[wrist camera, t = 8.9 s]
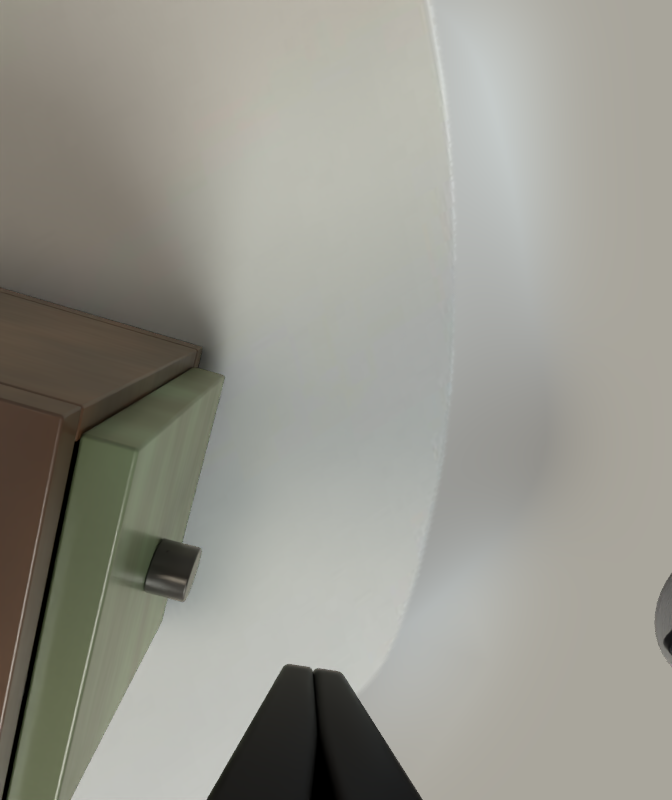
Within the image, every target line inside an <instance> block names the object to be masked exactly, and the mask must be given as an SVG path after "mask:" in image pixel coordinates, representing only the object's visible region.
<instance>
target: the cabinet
mask: <svg viewBox="0 0 672 800" xmlns="http://www.w3.org/2000/svg"><path fill="white" fill-rule="evenodd" d="M201 353H202V347H201V346H197V345H194V344H190V343H187V342H184V341H180V340H177V339H173V338H170V337H167V336H163V335H160V334H156V333H153V332H150V331H146V330H143V329H139V328H136V327H133V326H129V325H126V324H122V323H119V322H116V321H112V320H109V319H105V318H102V317H99V316H95V315H92V314H88V313H85V312H82V311H78V310H75V309H71V308H68V307H65V306H61V305H58V304H54V303H51V302H47V301H44V300H41V299H37V298H34V297H30V296H27V295H24V294H20V293H17V292H13V291H10V290H7V289H3V288H0V800H6V798H7V793H8V788H9V783H10V778H11V774H12V769H13V764H14V759H15V754H16V749H17V745H18V740H19V735H20V730H21V725H22V720H23V715H24V711H25V706H26V701H27V696H28V691H29V689H28V690H27V692H26V693H25V694H24V696H23V692H24V687H25V682H26V677H27V672H28V668H29V663H30V658H31V653H32V648H33V643H34V638H35V633H36V628H37V623H38V619H39V614H40V609H41V604H42V599H43V594H44V589H45V584H46V579H47V575H48V570H49V565H50V560H51V555H52V550H53V545H54V540H55V535H56V530H57V526H58V521H59V516H60V511H61V506H62V501H63V496H64V491H65V486H66V481H67V477H68V472H69V467H70V462H71V457H72V452H73V447H74V442H75V441H78V440H79V439H81V436H82V434H83V433H85V432H86V431H88V430H90V429H91V428H93V427H95V426H96V425H98V424H100V423H101V422H103V421H105V420H106V419H108V418H110V417H111V416H113V415H115V414H116V413H118V412H120V411H121V410H123V409H125V408H126V407H128V406H130V405H131V404H133V403H135V402H136V401H138V400H140V399H141V398H143V397H145V396H146V395H148V394H150V393H151V392H153V391H155V390H156V389H158V388H160V387H161V386H163V385H165V384H166V383H168V382H170V381H171V380H173V379H175V378H176V377H178V376H180V375H181V374H183V373H185V372H186V371H188V370H190V369H191V368H193V367H197V368H198V365H199V361H200V357H201Z"/></svg>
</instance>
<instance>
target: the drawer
mask: <svg viewBox="0 0 672 800" xmlns="http://www.w3.org/2000/svg"><path fill="white" fill-rule="evenodd" d="M224 379H225V377H224V376H223V375H221V374H217V373H214V372H210V371H207V370H203V369H200V368H197V367H193V368H191V369H190V370H188V371H186V372H185V373H183V374H181V375H180V376H178V377H176V378H175V379H173V380H171V381H170V382H168V383H166V384H165V385H163V386H161V387H160V388H158V389H156V390H155V391H153V392H151V393H150V394H148V395H146V396H145V397H143V398H141V399H140V400H138V401H136V402H135V403H133V404H131V405H130V406H128V407H126V408H125V409H123V410H121V411H120V412H118V413H116V414H115V415H113V416H111V417H110V418H108V419H106V420H105V421H103V422H101V423H100V424H98V425H96V426H95V427H93V428H91V429H90V430H88V431H86V432H85V433H83V434H82V436H81V439H79V440H78V441H75V442H74V447H73V452H72V457H71V462H70V467H69V472H68V477H67V481H66V486H65V491H64V496H63V501H62V506H61V511H60V516H59V521H58V526H57V530H56V535H55V540H54V545H53V550H52V555H51V560H50V565H49V570H48V575H47V579H46V584H45V589H44V594H43V599H42V604H41V609H40V614H39V619H38V623H37V628H36V633H35V638H34V643H33V648H32V653H31V658H30V663H29V668H28V672H27V677H26V682H25V687H24V692H23V696H24V694H25V693H26V692H27V690H28V689H29V691H28V696H27V701H26V706H25V711H24V715H23V720H22V725H21V730H20V735H19V740H18V745H17V749H16V754H15V759H14V764H13V769H12V774H11V778H10V783H9V788H8V793H7V798H6V800H71V798H72V796H73V794H74V792H75V790H76V788H77V786H78V784H79V782H80V780H81V778H82V776H83V774H84V772H85V770H86V768H87V766H88V764H89V763H90V761H91V759H92V757H93V755H94V753H95V751H96V749H97V747H98V745H99V743H100V741H101V739H102V737H103V735H104V733H105V731H106V729H107V727H108V726H109V724H110V722H111V720H112V718H113V716H114V714H115V712H116V710H117V708H118V706H119V704H120V702H121V700H122V698H123V696H124V694H125V692H126V690H127V688H128V687H129V685H130V683H131V681H132V679H133V677H134V675H135V673H136V671H137V669H138V667H139V665H140V663H141V661H142V659H143V657H144V655H145V653H146V651H147V650H148V648H149V646H150V644H151V642H152V640H153V638H154V636H155V634H156V632H157V630H158V628H159V626H160V624H161V622H162V619H163V615H164V611H165V607H166V603H167V599H168V598H169V599H173V600H177V601H181V602H184V601H185V600H186V598H187V596H188V594H189V592H190V589H191V587H192V584H193V581H194V578H195V575H196V572H197V569H198V565H199V562H200V558H201V552H202V550H201V548H199V547H195V546H192V545H188V544H184V543H182V542H183V538H184V534H185V530H186V526H187V522H188V518H189V514H190V511H191V507H192V503H193V499H194V495H195V491H196V487H197V484H198V480H199V476H200V472H201V468H202V464H203V460H204V457H205V453H206V449H207V445H208V441H209V437H210V433H211V430H212V426H213V422H214V418H215V414H216V410H217V406H218V402H219V399H220V395H221V391H222V387H223V383H224Z"/></svg>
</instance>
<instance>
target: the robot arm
mask: <svg viewBox="0 0 672 800" xmlns="http://www.w3.org/2000/svg"><path fill="white" fill-rule="evenodd" d="M663 645H664V648H665V649H666V650H667V651H668V652H669V653H670V654H671V655H672V630H671V631H670V632H669V633H668V634H667V635H666V637H665V638H664V640H663ZM207 800H422V798H421V797H420V795H419V793H418V792H417V790H416V789H415V787H414V786H413V784H412V782H411V781H410V779H409V778H408V776H407V775H406V773H405V771H404V770H403V768H402V767H401V765H400V763H399V762H398V760H397V759H396V757H395V756H394V754H393V752H392V751H391V749H390V748H389V746H388V744H387V743H386V741H385V740H384V738H383V737H382V735H381V734H380V732H379V730H378V729H377V727H376V726H375V724H374V722H373V721H372V719H371V718H370V716H369V715H368V713H367V712H366V710H365V708H364V707H363V705H362V704H361V702H360V700H359V699H358V697H357V696H356V694H355V692H354V691H353V689H352V688H351V686H350V685H349V683H348V681H347V680H346V678H345V677H344V675H343V674H342V673H341V672H338V671H333V670H326V669H319V668H317V669H315V670H314V671H312V669H311V668H310V667H306V666H299V665H292V664H287V665H285V666H284V667H283V668H282V670H281V672H280V673H279V675H278V677H277V679H276V680H275V682H274V684H273V686H272V687H271V689H270V691H269V693H268V694H267V696H266V698H265V699H264V701H263V703H262V705H261V706H260V708H259V710H258V712H257V713H256V715H255V717H254V718H253V720H252V722H251V724H250V725H249V727H248V729H247V731H246V732H245V734H244V736H243V738H242V739H241V741H240V743H239V744H238V746H237V748H236V750H235V751H234V753H233V755H232V757H231V758H230V760H229V762H228V764H227V765H226V767H225V769H224V770H223V772H222V774H221V776H220V777H219V779H218V781H217V783H216V784H215V786H214V788H213V789H212V791H211V793H210V795H209V796H208V798H207Z"/></svg>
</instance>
